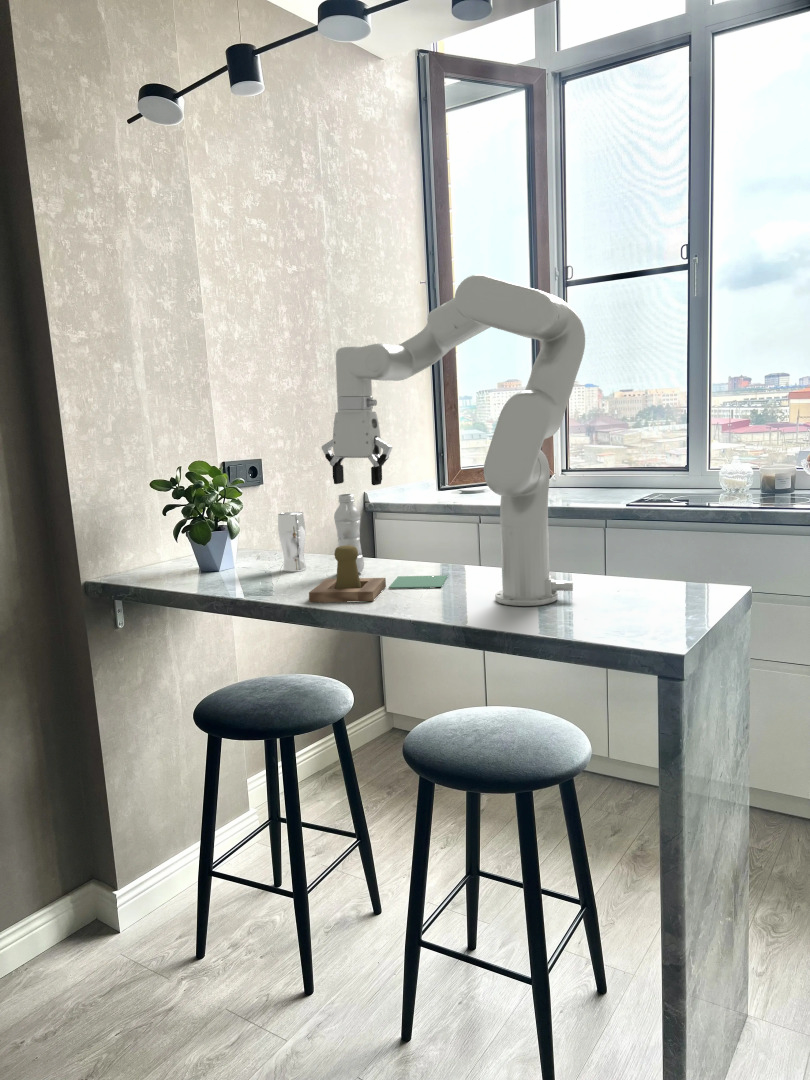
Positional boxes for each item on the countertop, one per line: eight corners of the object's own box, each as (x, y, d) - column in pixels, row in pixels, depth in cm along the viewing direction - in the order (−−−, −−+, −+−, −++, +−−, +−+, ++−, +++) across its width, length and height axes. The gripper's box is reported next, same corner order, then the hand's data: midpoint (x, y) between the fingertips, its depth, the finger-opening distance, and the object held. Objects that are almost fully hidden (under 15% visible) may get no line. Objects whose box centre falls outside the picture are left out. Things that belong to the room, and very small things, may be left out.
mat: (447, 577, 187) (447, 575, 187) (441, 588, 176) (441, 586, 176) (398, 577, 189) (397, 576, 189) (388, 589, 178) (388, 587, 178)
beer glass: (279, 573, 204) (274, 515, 202) (284, 567, 211) (279, 512, 209) (305, 571, 204) (301, 514, 201) (310, 566, 211) (306, 511, 208)
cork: (364, 591, 177) (361, 543, 175) (360, 597, 171) (357, 547, 169) (338, 592, 178) (334, 544, 176) (333, 598, 172) (329, 548, 170)
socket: (386, 587, 180) (385, 577, 180) (373, 601, 166) (372, 591, 166) (326, 588, 182) (326, 578, 182) (309, 602, 169) (308, 592, 168)
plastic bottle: (361, 576, 194) (356, 495, 191) (335, 576, 195) (329, 496, 192) (367, 571, 200) (362, 492, 197) (341, 571, 201) (336, 493, 198)
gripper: (398, 404, 170) (400, 483, 173) (330, 405, 178) (333, 481, 181) (381, 404, 164) (383, 486, 166) (311, 406, 171) (315, 484, 174)
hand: (357, 484), depth 174 cm, fingers open, 9 cm apart
